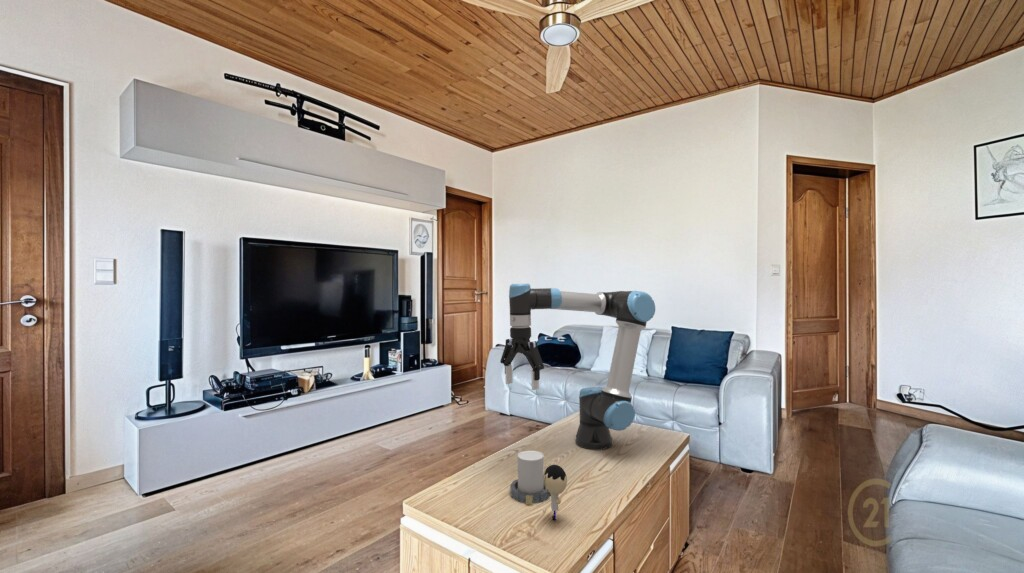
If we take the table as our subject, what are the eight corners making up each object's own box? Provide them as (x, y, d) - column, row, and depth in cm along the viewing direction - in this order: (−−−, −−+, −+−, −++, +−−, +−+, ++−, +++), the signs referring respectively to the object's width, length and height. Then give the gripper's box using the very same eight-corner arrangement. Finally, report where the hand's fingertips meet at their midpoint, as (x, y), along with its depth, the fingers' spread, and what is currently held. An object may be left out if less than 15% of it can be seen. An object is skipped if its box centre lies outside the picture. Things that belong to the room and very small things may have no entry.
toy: (541, 512, 126) (541, 460, 126) (563, 510, 126) (563, 459, 126) (546, 528, 117) (545, 472, 117) (570, 527, 118) (569, 471, 118)
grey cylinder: (545, 488, 140) (545, 451, 140) (541, 500, 132) (541, 461, 132) (520, 486, 142) (520, 449, 142) (515, 498, 134) (515, 459, 134)
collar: (531, 481, 146) (531, 474, 146) (558, 494, 136) (558, 486, 136) (502, 492, 138) (502, 484, 138) (528, 507, 128) (528, 499, 128)
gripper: (490, 325, 162) (491, 382, 162) (538, 329, 143) (539, 394, 143) (505, 324, 167) (506, 379, 167) (553, 327, 148) (554, 390, 148)
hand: (521, 386), depth 155 cm, fingers open, 13 cm apart
